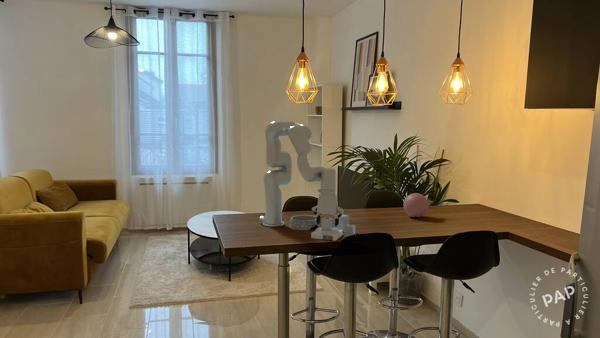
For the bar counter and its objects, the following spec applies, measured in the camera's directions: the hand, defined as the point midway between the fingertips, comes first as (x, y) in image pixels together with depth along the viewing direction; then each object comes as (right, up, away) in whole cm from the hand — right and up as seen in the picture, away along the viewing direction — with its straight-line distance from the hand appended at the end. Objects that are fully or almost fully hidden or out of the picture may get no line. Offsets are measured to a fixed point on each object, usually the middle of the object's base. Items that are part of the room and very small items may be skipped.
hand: (327, 224), depth 220 cm
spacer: (+12, -6, 0) cm, 13 cm away
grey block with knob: (0, -3, 0) cm, 3 cm away
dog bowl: (-12, -4, +22) cm, 25 cm away
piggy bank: (+61, -2, +50) cm, 79 cm away
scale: (0, -6, +1) cm, 6 cm away
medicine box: (+8, -5, +13) cm, 17 cm away
